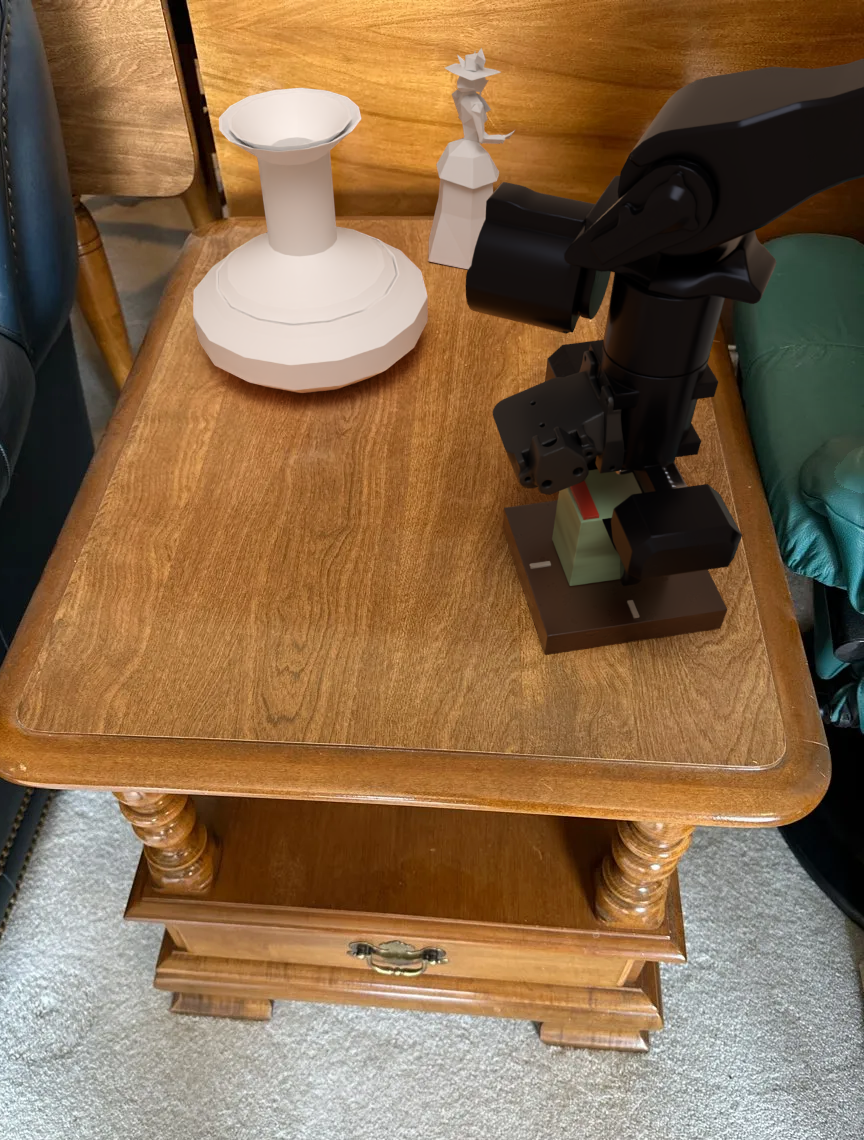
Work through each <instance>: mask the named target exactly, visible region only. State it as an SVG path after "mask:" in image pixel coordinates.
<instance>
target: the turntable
mask: <svg viewBox="0 0 864 1140" xmlns="http://www.w3.org/2000/svg"><path fill="white" fill-rule="evenodd" d="M557 502H558V499H555V500H549V501H541V502H534V503H527V504H520V505H512V506H506V507H505V506H504V507H503V513H502V514H503V515H502V525H501V526H502V527H501V528H502V530H503V533H504V536H505V540H506V543H507V545H508V548H509V551H510V554H511V557H512V560H513V564H514V567H515V569H516V573H517V576H518V578H519V582H520V584H521V586H522V587H521V588H522V591H523V594H524V597H525V600H526V603H527V606H528V608H529V612H530V615H531V618H532V620H533V621H532V622H533V624H534V626H535V630H536V633H537V636H538V639H539V642H540V645H541V648H542V651H543V653H544V655H546V656H547V655H553V654H557V653H566V652H572V651H578V650H585V649H591V648H592V649H593V648H599V647H605V646H613V645H619V644H625V643H626V644H627V643H631V642H639V641H644V640H645V641H646V640H652V639H658V638H664V637H665V638H666V637H672V636H678V635H686V634H691V633H698V632H699V633H700V632H704V631H711V630H712V631H713V630H718V629H721V628H722V626H723V622H724V620H725V618H726V616H727V615H726V614H727V612H728V607H727V605H726V603H725V602H724V599H723V597H722V595H721V593H720V591H719V589H718V588H717V585H716V583H715V581H714V580H713V577H712V575H711V574H710V571H709V570H703V571H696V572H689V573H682V574H675V575H668V576H661V577H654V578H647V579H643V580H642V581H640V582H639V583H638V584H635V585H628V586H623V585H622V584H621V581H620V579H616V580H609V581H603V582H596V583H589V584H582V585H575V586H570V585H569V583H568V580H567V577H566V575H565V572H564V569H563V567H562V564H561V561H560V559H559V556H558V553H557V551H556V548H555V545H554V543H553V540H552V536H553V529H554V523H555V516H556V509H557Z"/></svg>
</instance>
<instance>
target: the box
mask: <svg viewBox="0 0 864 1140" xmlns="http://www.w3.org/2000/svg"><path fill="white" fill-rule="evenodd" d="M638 493H642V492H641V490H640V488H639V486H638V484H637V482H636V480H635V477H634V475H633V473H632V472H631V473H629V474H622V475H619V474H617V473H616V472H608V473H601V474H600V473H599V470H598V469H596V470H589V474H588V476H587V477H586V479H585V480H584V481H583V482H581V483H578V484H576V485H573V486H571V487H568V488H566V489H563V490H561V491H558V496H557V500H558V502H557V509H556V516H555V523H554V529H553V536H552V540H553V543H554V545H555V548H556V551H557V553H558V556H559V559H560V561H561V564H562V567H563V569H564V572H565V575H566V577H567V580H568V583H569V585H570V586H575V585H582V584H589V583H596V582H603V581H609V580H616V579H620V556H619V554H618V552H617V551H616V550H615V549H614V547H613V545H612V542H611V540H610V538H609V535H608V533H607V531H606V528H605V526H604V524H603V521H602V519H606V518H612V514H613V509H614V508H615V507H616V506H618V505H619V504H620V503H621V502H623V501H624V500H625V499H627V498H628V497H629V496H631V495H632V494H638Z"/></svg>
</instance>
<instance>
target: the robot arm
mask: <svg viewBox="0 0 864 1140" xmlns="http://www.w3.org/2000/svg"><path fill="white" fill-rule="evenodd" d="M861 178H864V58H860V59H858V60H854V61H851V62H849V63H844V64H839V65H832V66H825V67H819V68H802V67H785V66H768V67H762V68H755V69H750V70H749V69H748V70H744V71H737V72H730V73H726V74H725V73H724V74H718V75H713V76H708V77H703V78H699V79H696V80H694V81H692V82H689V83H688V84H686V85H684V86H683V87H681V88H679V89H678V90H677V91H676V92H674V93H673V94H672V95H671V96H670V97H669V98H668V99H667V101H666V102H665V103H664V105H663V106H662V107H661V109H659V111H658V113H657V114H656V115H655V117H654V119H653V120H652V122H651V123H650V124H649V126H648V127H647V128H646V130H645V131H644V133H643V134H642V136H641V137H640V138H639V140H638V141H637V143H636V144H635V146H634V147H633V148H632V149H631V151H630V152H629V154H628V157H627V159H626V160H625V162H624V164H623V167H622V168H621V170H620V173H619V175H615V176H613V178H612V179H611V181H610V182H609V184H608V185H607V187H606V188H605V189H604V191H603V192H602V194H601V195H600V196H599V198H598V200H596V202H595V203H592V202H587V201H583V200H578V199H572V198H567V197H561V196H557V195H552V194H547V193H543V192H538V191H536V190H533V189H531V188H528V187H527V186H524V185H521V184H516V183H512V182H506V181H503V182H501V183H500V184H499V185H498V186H497V188H496V189H495V190H493V194H492V195H491V196H490V197H489V198H488V200H487V201H486V217H485V221H484V223H483V226H482V228H481V231H480V233H479V236H478V239H477V242H476V246H475V249H474V254H473V258H472V263H471V266H470V268H469V269H467V271H466V274H465V287H464V288H465V299H466V304H467V306H468V308H469V310H470V311H473V312H476V313H480V314H484V315H488V316H492V317H495V318H500V319H504V320H508V321H512V322H517V323H520V324H525V325H529V326H532V327H538V328H541V329H545V330H550V331H554V332H557V333H561V334H565V335H567V334H569V333H571V334H573V333H574V331H575V329H576V326H577V323H578V322H579V319H580V318H583V319H586V320H587V319H588V320H594V318H595V317H596V316H597V314H598V312H599V310H600V309H601V306H602V303H603V301H604V298H605V295H606V292H607V289H608V286H609V282H610V278H611V273H614V274H613V279H612V286H611V294H610V297H609V304H608V309H607V315H606V321H605V328H604V334H603V339H597V340H596V339H595V340H589V341H580V342H573V343H565V344H562V345H561V346H559V347H558V348H557V349H556V350H555V351H554V352H553V353H551V355H550V356H548V357H547V360H546V367H545V368H546V369H545V377H544V381H543V382H540V383H538V384H536V385H533V386H531V387H529V388H526V389H523V390H521V391H519V392H517V393H515V394H514V393H513V395H512V394H511V395H510V396H508V397H505V398H503V399H501V400H500V401H498V402H497V403H496V404H495V405H494V407H493V408H492V418H493V420H494V423H495V427H496V428H497V431H498V434H499V437H500V440H501V443H502V445H503V448H504V450H505V453H506V456H507V458H508V459H509V460H508V461H509V463H510V465H511V468H512V471H513V473H514V474H515V478H516V480H517V483H518V484H519V485H520V486H521V487H522V488H524V489H527V490H528V489H533V490H534V489H538V492H539V493H540V494H542V495H547V496H550V495H553V494H556V493H559V491H561V490H563V489H566V488H568V487H571V486H573V485H576V484H578V483H581V482H583V481H584V480H585V479H586V477H587V476H588V474H589V470H596V469H598V470H599V473H600V474H601V473H608V472H616V473H617V474H619V475H622V474H629V473H631V472H632V473H633V475H634V477H635V480H636V482H637V484H638V486H639V488H640V490H641V492H642V493H638V494H632V495H631V496H629V497H628V498H627V499H625V500H624V501H623V502H621V503H620V504H619V505H618V506H616V507H615V508H614V509H613V514H612V518H606V519H602V521H603V524H604V526H605V528H606V531H607V533H608V535H609V538H610V540H611V542H612V545H613V547H614V549H615V550H616V551H617V552H618V554H619V556H620V581H621V584H622V585H623V586H628V585H635V584H638V583H639V582H640V581H642V580H643V579H647V578H654V577H661V576H668V575H675V574H682V573H689V572H696V571H703V570H708V571H709V570H717V569H723V568H728V567H729V566H730V565H731V563H732V562H733V560H734V559H735V556H736V553H737V551H738V548H739V545H740V542H741V539H742V538H743V534H742V532H741V530H740V528H739V526H738V524H737V523H736V521H735V519H734V517H733V515H732V514H731V512H730V510H729V508H728V506H727V505H726V503H725V501H724V499H723V497H722V496H721V494H720V493H719V492H718V491H717V490H716V489H714V488H713V487H712V486H711V485H710V484H709V483H704V484H697V485H696V484H695V485H689V486H688V485H687V483H686V481H685V479H684V477H683V475H682V473H681V471H680V469H679V467H678V465H677V464H676V461H675V460H676V458H683V457H689V456H696V455H698V454H699V451H700V448H701V444H702V439H701V438H700V436H699V434H698V432H697V431H696V428H695V426H694V425H693V423H692V421H693V418H694V414H695V411H696V407H697V404H698V400H703V399H709V398H715V395H716V392H717V388H718V386H719V385H718V384H719V380H718V379H717V377H716V375H715V373H714V371H713V370H712V368H711V367H710V365H709V363H708V362H709V359H710V356H711V350H712V347H713V343H714V340H715V336H716V332H717V328H718V325H719V321H720V318H721V313H722V311H723V307H724V302H725V299H727V300H732V301H736V302H740V303H745V304H750V305H755V304H757V303H759V302H761V300H762V298H763V295H764V293H765V291H766V288H767V287H768V285H769V282H770V281H771V277H772V275H773V273H774V271H775V268H776V267H777V260H776V258H775V257H774V255H772V253H771V252H770V251H769V250H768V249H767V247H765V246H764V245H763V244H762V243H761V242H760V241H759V240H758V237H757V233H756V230H759V229H761V228H764V227H765V226H768V225H769V224H771V223H772V222H774V221H776V220H777V219H779V218H781V217H782V216H783V215H785V214H787V213H789V212H790V211H792V210H793V209H795V208H796V207H798V206H799V205H801V204H803V203H804V202H806V201H808V200H810V199H811V198H813V197H814V196H816V195H818V194H820V193H823V192H825V191H827V190H830V189H832V188H834V187H837V186H839V185H841V184H845V183H846V182H850V181H854V180H857V179H861Z"/></svg>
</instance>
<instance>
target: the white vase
mask: <svg viewBox="0 0 864 1140" xmlns="http://www.w3.org/2000/svg"><path fill="white" fill-rule="evenodd" d="M361 120H362V115H361V110H360V106H358V104H357V103H355V102H354V101H353V100H352V99H350V98H349V97H348V96H347V95H342V94H340V93H337V92H333V91H330V90H327V89H317V88H307V87H293V88H283V89H281V88H280V89H272V90H268V91H264V92H260V93H256V94H252V95H248V96H246V97H244V98H242V99H241V100H238V101H237V102H235V103H233V104H231V105H229V106H228V107H227V108H226V110H224V112H223V113H221V115H220V116H219V117H218V131H219V132H220V133H221V134H222V135H223V136H224V137H225V139H227V140H228V142H230V143H232V144H234V145H235V146H237V147H239V148H240V149H242V150H244V151H246V152H248V153H249V154H251V155H253V156H254V157H256V159H257V166H258V172H259V179H260V180H259V181H260V187H261V188H260V189H261V194H262V201H263V209H264V215H265V222H266V230H267V232H264V233H261V234H258V235H257V236H254V237H252V238H250V239H249V240H248V241H246V242H244V243H243V244H241V245H239V246H238V247H237V248H235V249H234V250H231V252H229V253H228V254H227V255H226V256H225V257H224V258H223V259H221V260H219V261H218V262H216V263H215V264H213V266H212V267H210V269H209V270H208V272H206V274H205V275H204V276H203V278H201V281H200V282H199V283H198V284H197V285H196V287H195V288H194V289H193V295H192V296H193V298H192V299H193V301H192V302H193V303H192V315H193V316H192V318H193V322H194V327H195V331H196V335H197V341H198V342H199V344H200V345H201V348H202V349H203V350H204V352H205V353H206V354H207V356H208V358H209V359H210V362H212V364H213V365H214V366H215V367H217V368H219V369H221V370H223V371H225V372H227V373H229V374H231V375H233V376H235V377H238V378H239V379H241V380H244V381H245V382H248V383H250V384H254V385H257V386H258V385H259V386H262V387H266V388H269V389H270V388H271V389H277V390H282V391H288V392H293V393H299V394H304V393H305V394H306V393H317V392H324V391H334V390H339V389H342V388H344V387H347V386H350V385H354V384H357V383H360V382H362V381H365V380H368V379H370V378H372V377H375V376H377V375H379V374H381V373H383V372H385V371H387V370H388V369H389V368H391V367H392V366H393V365H394V364H396V362H399V360H401V359H402V358H403V357H404V356H406V355H407V354H408V353H409V352H411V351H412V350H413V349H414V348H415V347H416V345H417V343H418V341H419V339H420V337H421V335H422V333H423V331H424V329H425V327H426V326H427V323H428V320H429V317H428V316H429V315H428V313H429V312H428V311H429V310H428V307H429V306H428V305H429V303H428V300H429V298H428V291H427V288H426V284H425V281H424V276H423V273H422V270H421V269H420V268H419V267H418V266H417V265H416V264H415V263H414V262H413V261H412V260H411V259H410V258H409V257H408V256H407V255H406V254H405V253H404V252H403V251H402V250H401V249H399V248H397V247H394V246H392V245H390V244H388V243H386V242H384V241H383V240H381V239H379V238H377V237H374V236H372V235H368V234H366V233H364V232H361V231H359V230H356V229H353V228H348V227H343V226H337V223H336V222H337V220H336V208H335V207H336V206H335V196H334V183H333V172H332V171H333V170H332V157H331V150H333V149H334V148H335V147H336V146H337V145H339V143H341V142H342V141H343V140H344V139H345V138H346V137H347V136H348V135H350V134H351V133H352V132H353V131H354V130H355V128H356V127H357V126H358V124H360V122H361Z"/></svg>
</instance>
